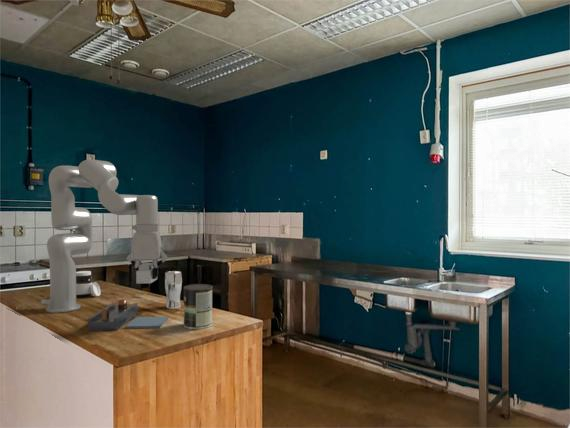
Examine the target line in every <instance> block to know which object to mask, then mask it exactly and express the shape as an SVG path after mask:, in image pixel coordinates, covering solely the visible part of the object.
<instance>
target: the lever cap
mask: <svg viewBox="0 0 570 428" xmlns="http://www.w3.org/2000/svg"><path fill="white" fill-rule="evenodd" d="M153 268H154V264H153V262H151V263H150V262H141V264H140V265H139V270H137V271H136V270H135V278H136V281H135V282H136V283H135V284H137V285H138V284H152V283H154V282H155V281H157V280H158V277H157V278H156V279H153Z"/></svg>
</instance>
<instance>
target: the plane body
mask: <svg viewBox="0 0 570 428" xmlns="http://www.w3.org/2000/svg"><path fill="white" fill-rule="evenodd" d="M117 305H118V306H117ZM117 305H116V303H115V302H114V303H110V304H109V305H107V306H106V307H103V308H101V310H99V311H98V312H96V313H94V314H93V315H91V316H90V317H88V318H87V331H88V332H89V331H90V332H91V331H98V332H99V331H102V332H104V331H105V332H106V331H118V330H120V329H121V328H122V327H123V326H124V325H127V324H128V322H129V321H130V320H133V319H134V318H135V316H136V315H138V314H139V313H138V311H139V310H138V309H139V308H138V305H139V304H138V302H135V303H133V304H131V305H130V306H129V305H128V300H127V299H123V298H121V299H118V300H117Z"/></svg>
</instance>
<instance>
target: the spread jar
mask: <svg viewBox="0 0 570 428" xmlns="http://www.w3.org/2000/svg"><path fill="white" fill-rule="evenodd" d="M101 294H102V293H101V287H100V285H99V283H98V282H96V281H95V282H93V277H92V271H91V270H82V271H81V270H80V271H79V270H78V271H76V299H77V298H78V299H81V298H89V297H91V296H93V297H95V298H97V297H100V296H101Z"/></svg>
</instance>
